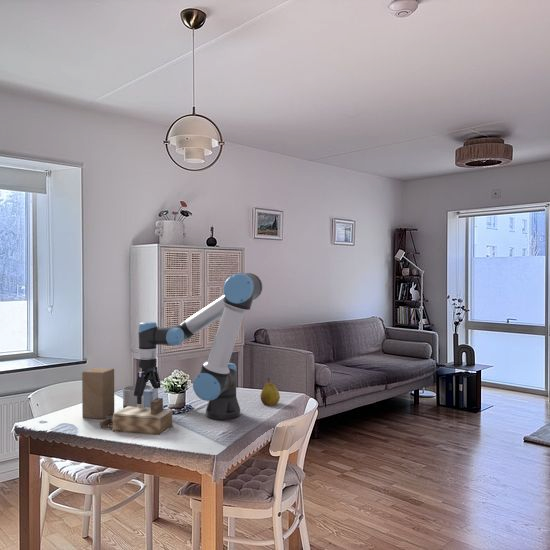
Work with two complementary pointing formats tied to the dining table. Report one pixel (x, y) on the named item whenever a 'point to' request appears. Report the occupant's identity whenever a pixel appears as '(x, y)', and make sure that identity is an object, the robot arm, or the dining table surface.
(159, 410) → the lid
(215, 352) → the robot arm
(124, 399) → the planter
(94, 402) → the wooden block
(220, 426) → the dining table surface
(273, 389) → the fruit
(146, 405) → the light blue block
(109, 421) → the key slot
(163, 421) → the wooden box
